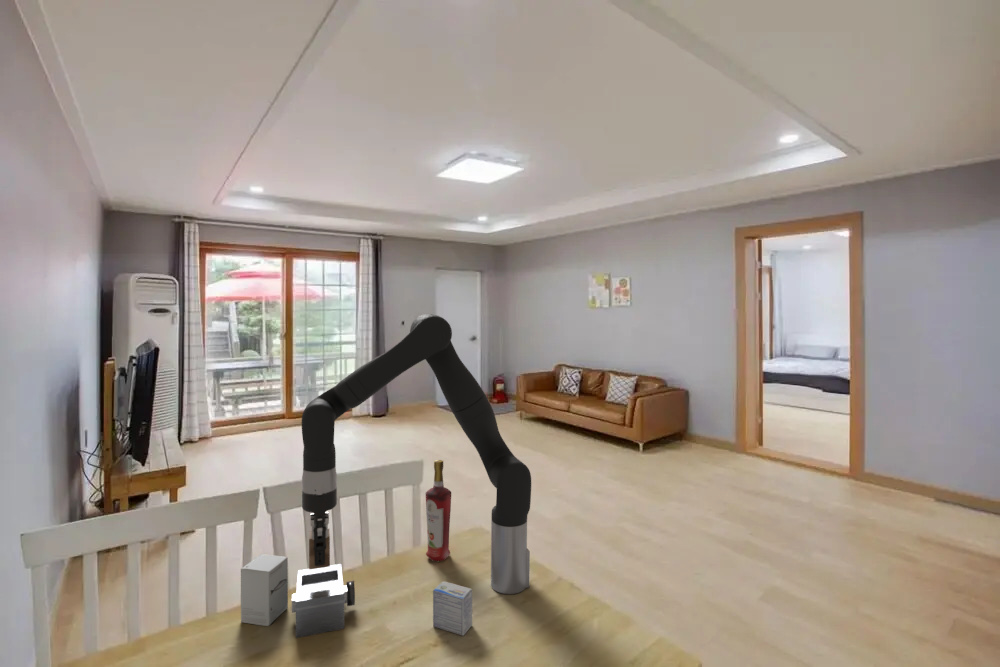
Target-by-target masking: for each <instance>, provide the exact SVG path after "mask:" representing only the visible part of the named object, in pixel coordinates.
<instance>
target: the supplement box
mask: <svg viewBox="0 0 1000 667" xmlns="http://www.w3.org/2000/svg"><path fill="white" fill-rule="evenodd" d="M288 564H289V563H288V556H283V555H282V556H281V555H274V554H273V555H272V554H265V553H264V554H262V553H261V554H259V555H258V556H256V557H255V558H254V559H253V560H251V561H249V562H248V563H247V564H246V565H244V566H242V567H241V568H240V623H245V624H252V625H257V626H264V627H270V625H272V623H273V622H274V621H275V620H277V618H278V617H280V615H282V614H283V613H284V612H285V611H286V610H287V609H288V607H289V604H288V603H289V597H288V596H289V594H288V593H289V584H288V583H289V582H288V581H289V580H288V578H289V575H288V574H289V573H288V570H289V568H288V567H289V566H288Z"/></svg>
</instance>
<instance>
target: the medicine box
mask: <svg viewBox="0 0 1000 667" xmlns="http://www.w3.org/2000/svg"><path fill="white" fill-rule="evenodd" d="M432 614H433V615H432V626H433V627H434V628H438V629H441V630H443V631H447V632H449V633H450V632H451V633H453V634H457V635H460V636H465V634H466V633H468V631H469V630H470V628H471V627H472V625H473V589H472V588H470V587H466V586H462V585H459V584H455V583H452V582H447V581H444V580H443V581H441V583H439V584H438V585H437V586H436V587H435V588H434V589H433V590H432Z"/></svg>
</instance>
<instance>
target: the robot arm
mask: <svg viewBox="0 0 1000 667" xmlns="http://www.w3.org/2000/svg"><path fill="white" fill-rule="evenodd" d="M452 337H453V331H452V328H451V324H450V323H449V322H448V321H447V320H446V319H445V318H444V317H442V316H440V315H436V314H433V313H424V314H420V315H419V316H417V317H416V318H414V320H413V322H412V323H411V326H410V330H409V332H408V333H407V335H406V336H405V337H403V338H402V339H401V340H400V341H399V342H398V343H397V344H395V345H394V346H393V347H392V348H390V349H388V350H387V351H385V352H384V353H382V354H380V355H378V356H376V357H375V358H373V359H371V360H369V361H367V362H366V363H365V364H363V365H361V366H359V367H358V368H357V369H355V370H354V371H352V372H351V373H350V374H349V375H346V377H344V378H343V379H342V380H340V381H339V382H338V383H337V384H335V386H333V387H332V388H330V389H328V390H326V391H325V392H323V393H321V394H320V395H318V396H317V397H315V398H314V399H313V400H311V401H310V402H309V403H308V404H306V407H304V409H303V412H302V414H301V436H302V443H303V452H302V453H303V454H302V461H303V462H302V467H303V468H302V476H301V507H302V510H303V511H305V512H307V513H310V527H311V531H312V539H313V540H314V546H313V550H314V551H315V566H321V565H324V564H325V550H326V538H327V537H328V529H329V528H328V527H329V524H330V518H329V516H330V515H329V511H330V510H332V509H334V508H335V507H336V506H337V504H338V502H337V501H338V500H337V498H338V492H337V491H338V488H337V487H338V479H337V478H338V475H337V470H336V469H337V467H336V466H337V464H336V462H337V461H336V456H337V455H336V454H337V453H336V444H335V425H336V424H335V421H336V420H337V419H339V417H341V416H343V415H344V414H346V413H347V412H348V411H349V410H350V409H355V408H357V407H359V406H360V405H362V404H363V403H364V402H366V401H367V400H369V398H371V397H372V396H374V395H375V394H377V393H378V392H379V391H380V390H382V389H383V388H385V386H387V385H388V384H390V382H391V383H392V381H393V380H394V379H397V377H399V376H400V375H401V374H403V373H404V372H406V371H408V370H409V369H411V368H412V367H414V366H416V365H417V364H419V363H421V362H423V361H426V362H427V364H428V366H430V369H431V370H432V372H433V373H434V375H435V378H436V380H437V382H438V385H439V387H440V389H441V392H442V393H443V396H444V398H445V400H446V402H447V404H448V407H449V408H450V411H451V412H452V414H453V416H454V418H455V420H456V421H457V423H458V424H459V425H460V427H461V428H462V430H463V433H464V434H465V435H466V437H467V438H468V439H469V441H470V442H471V444H472V445H473V446H474V448H475V449H476V451H477V453H478V456H479V458H480V459H481V463H482V465H483V466H484V468H485V469H484V470H485V471H486V474H487V477H488V478H489V481H490V483H491V484H492V486H494V488H495V489H496V502H495V505H494V506H493V507H492V509H491V527H490V528H491V530H490V531H491V533H490V534H491V538H490V540H491V541H490V542H491V545H490V547H491V548H490V587H491V588H492V589H493V590H494V591H495V592H498V593H500V594H503V595H514V594H519V593H522V592H523V591H524V590H526V589H529V588H530V568H531V567H530V565H531V564H530V563H531V562H530V561H531V560H530V557H531V553H530V550H529V549H528V515H529V513H530V510H531V500H532V498H531V497H532V474H531V471H530V469H529V467H528V466H527V465H526V464H525V463H523V461H521V460H520V459H519V458H517V457H516V455H514V454H513V452H512V451H511V449H510V448H509V447H508V445H507V444H506V441H505V440H504V439H503V437H502V435H501V433H500V431H499V428H498V423H497V419H496V415H495V412H494V409H493V407H492V405H491V403H490V401H489V399H488V397H487V395H486V394H485V391H484V390H483V388H482V386H481V385H480V384H479V382H478V381H477V379H476V378H475V377H474V375H473V374H472V373H471V371H470V370H469V369H468V368H467V366H466V365H465V364H464V362H462V360H461V359H460V357H459V355H458V353H457V350H456V349H455V346H454V345H453V343H452ZM317 533H318V534H317ZM320 542H323V544H317V543H320ZM316 544H317V545H316Z"/></svg>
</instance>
